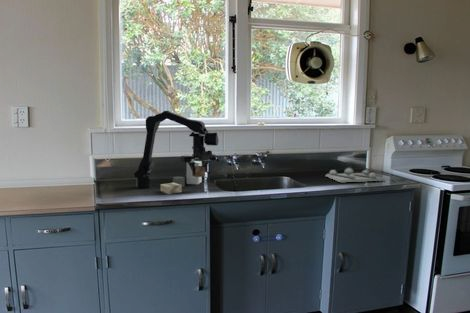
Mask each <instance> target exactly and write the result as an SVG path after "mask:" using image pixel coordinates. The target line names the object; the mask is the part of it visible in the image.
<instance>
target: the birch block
mask: <svg viewBox="0 0 470 313" xmlns="http://www.w3.org/2000/svg"><path fill="white" fill-rule="evenodd" d="M182 189H183V187H182V185H180V184H177V183H173V182H170V183H169V182H168V183H161V184H160V192H161V193H164V194H167V195H171V194H177V193H182V191H183V190H182Z"/></svg>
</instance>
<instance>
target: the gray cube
mask: <svg viewBox="0 0 470 313" xmlns="http://www.w3.org/2000/svg"><path fill="white" fill-rule="evenodd" d="M185 179H186V178H185V177H184V176H181V175H180V176H172V183H177V184H180V185H182V188H183V187H186V182H185V181H186V180H185Z"/></svg>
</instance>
